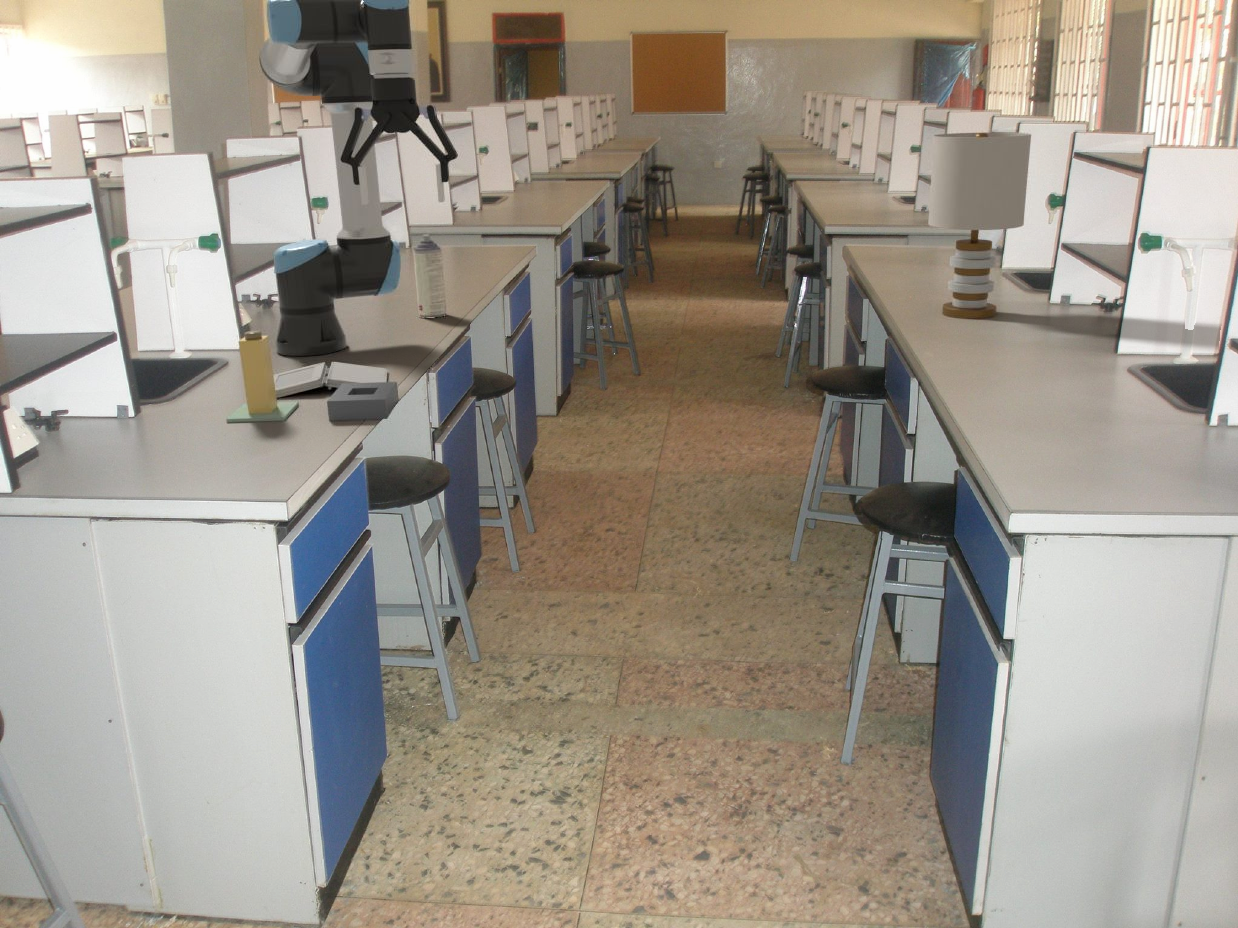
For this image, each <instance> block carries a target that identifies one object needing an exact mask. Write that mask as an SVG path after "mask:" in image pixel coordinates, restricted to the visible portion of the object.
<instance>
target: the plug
mask: <svg viewBox="0 0 1238 928" xmlns="http://www.w3.org/2000/svg"><path fill="white" fill-rule="evenodd" d="M238 347H239V355H240V360H241V361H240V363H241V367H242V369H241V370H242V375H243V382H244V383H243V384H244V391H245V397H246V403H247V406H248V413H249V414H256V413H272V412H273V411H274V410H275V409H276V408H277V407H278V406H277V402H278V398H276V391H275V383H274V376H273V375H274V371H273V362H272V354H271V347H270V338H269V335H262V331H260V330H253V331H245V332H244V337H242V338H241V339H239V340H238Z"/></svg>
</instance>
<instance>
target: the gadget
mask: <svg viewBox="0 0 1238 928" xmlns="http://www.w3.org/2000/svg"><path fill="white" fill-rule="evenodd" d="M330 364H331V365H330V366H328V365H326V361H323V362H319V363H316V364H315V363H314V364H311V365H308V366H304V367H299V368H295V369H291V370H287V371H283V372H280V373H275V374H273V376H274V383H275V391H276V399H278V398H281V397H282V398H283V397H286V396H290V395H295V394H299V393H301V392H306V391H310V390H313V389H317V388H323V387H324V386H325V387H329V388H336V389H338V388H339V387H340V385H341V384H344V383H375V382H388V381H387V379H388V368H384V367H378V366H377V367H376V366H369V365H362V364H354V363H348V362H347V363H346V362H338V361H331V363H330Z"/></svg>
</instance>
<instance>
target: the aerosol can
mask: <svg viewBox="0 0 1238 928" xmlns="http://www.w3.org/2000/svg"><path fill="white" fill-rule="evenodd" d="M442 251H443V250H442V249H441V246H440V245H439V246H438V244H437V242H435V241H434V240H432V239H431V236H430V234H422V239H421V240H420V241H419V243H417V245H416V247H413V261H414V272H415V275H414V276H415V285H416V295H417V296H416V297H417V308H418V315H420V316H421V317H441V318H443V317H442V316H444V315H446V316H448V315H447V304H446V303H447V302H446V293H445V292H446V291H445V280H444V279H445V278H444V277H445V276H444V266H443V253H442Z"/></svg>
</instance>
